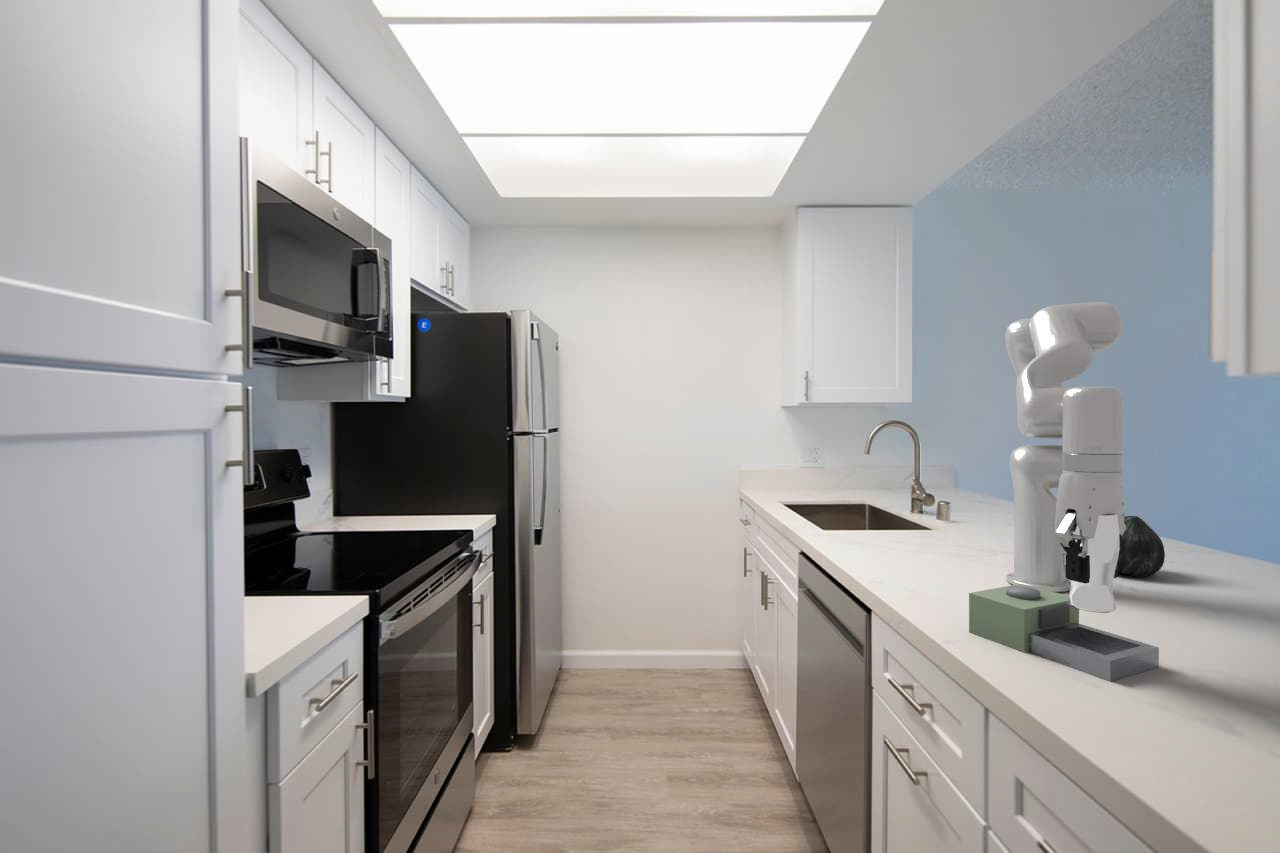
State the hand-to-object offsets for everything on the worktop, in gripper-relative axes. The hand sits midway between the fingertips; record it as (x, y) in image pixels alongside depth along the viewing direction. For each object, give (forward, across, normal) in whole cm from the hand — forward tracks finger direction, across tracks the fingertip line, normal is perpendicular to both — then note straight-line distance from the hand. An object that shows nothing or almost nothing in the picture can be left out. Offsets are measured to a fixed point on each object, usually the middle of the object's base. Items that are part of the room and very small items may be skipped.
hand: (1091, 577), depth 94 cm
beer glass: (+5, 0, 0) cm, 5 cm away
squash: (+13, -61, -28) cm, 68 cm away
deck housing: (+13, 0, -11) cm, 17 cm away
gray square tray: (+13, 0, 0) cm, 13 cm away
